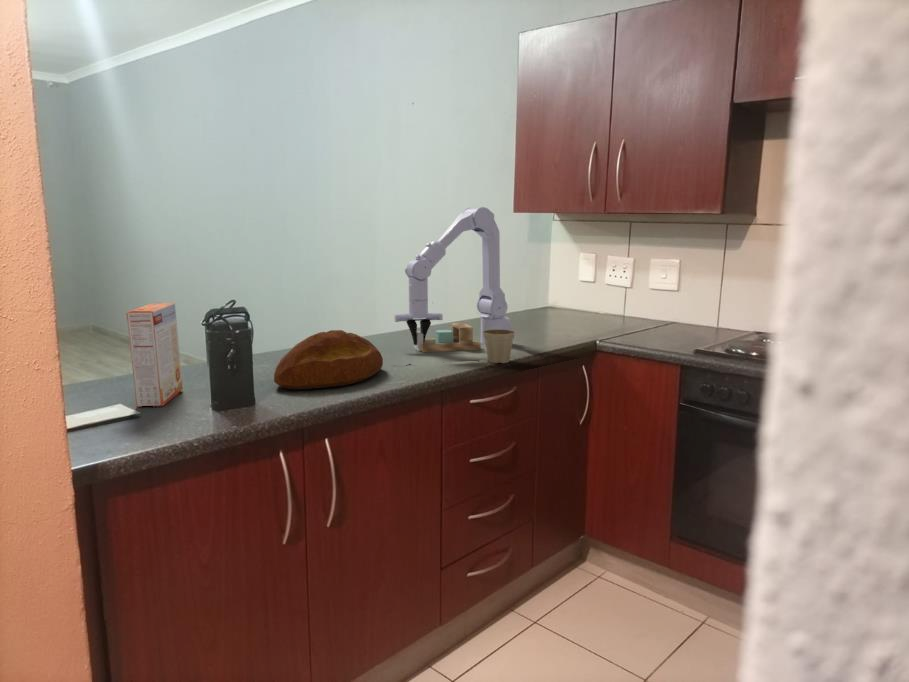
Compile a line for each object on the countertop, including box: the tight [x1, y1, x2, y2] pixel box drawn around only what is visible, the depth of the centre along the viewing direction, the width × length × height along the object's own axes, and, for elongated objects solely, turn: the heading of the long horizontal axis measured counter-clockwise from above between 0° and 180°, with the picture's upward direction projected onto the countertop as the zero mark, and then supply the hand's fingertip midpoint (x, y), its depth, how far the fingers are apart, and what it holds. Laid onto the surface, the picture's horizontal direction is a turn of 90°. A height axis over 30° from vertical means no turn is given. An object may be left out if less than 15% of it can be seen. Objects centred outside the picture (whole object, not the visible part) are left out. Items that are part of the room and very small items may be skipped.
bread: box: [273, 329, 384, 390], centre depth 165 cm, size 21×33×12 cm, turn 138°
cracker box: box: [126, 302, 184, 408], centre depth 145 cm, size 14×6×21 cm, turn 5°
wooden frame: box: [421, 322, 482, 353], centre depth 203 cm, size 18×10×8 cm, turn 104°
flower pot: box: [483, 329, 517, 364], centre depth 186 cm, size 9×9×9 cm
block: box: [434, 329, 453, 344], centre depth 202 cm, size 4×4×4 cm
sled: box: [413, 330, 454, 352], centre depth 202 cm, size 12×7×5 cm, turn 104°
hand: (418, 344), depth 201 cm, fingers closed on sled, 2 cm apart
